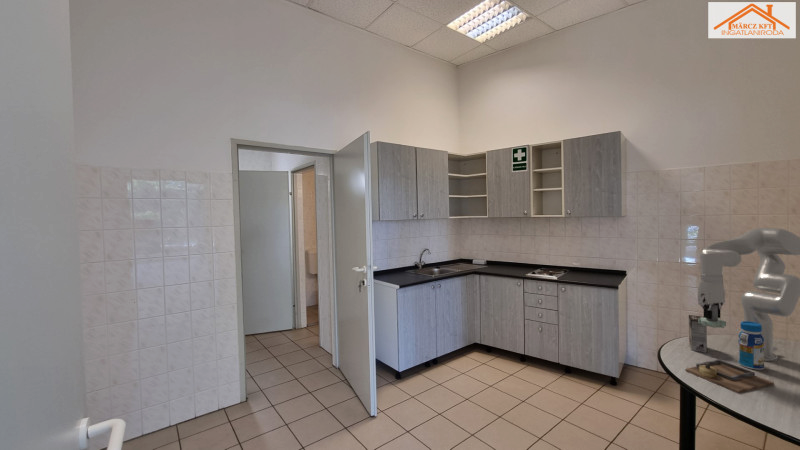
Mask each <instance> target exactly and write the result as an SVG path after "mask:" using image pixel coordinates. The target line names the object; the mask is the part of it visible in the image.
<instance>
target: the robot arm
mask: <svg viewBox="0 0 800 450" xmlns="http://www.w3.org/2000/svg"><path fill="white" fill-rule="evenodd" d="M755 252H757V254H758V257H759V260H760V261H759V265H758V268H757V271H756V273H755V276H754V278H753V282H752V286H753V287H754V288H755V289H757V290H759V291H757V290H755V291H754V290H749V291H745V292H743V294H741V298H740V301H741V305H742V309H743V316H744V320H743V321H749V322H755V323H759V324H761V326H762V331H761V333H760V334H761V335H762V336H763V338H764V342H763V343H764V345H765V348H764V362H776V361H778V359H779V358H778V356H777V355H776V354H775V353H774V352H776V351H778V350H779V349H778V347H777V346H774V335H773V334H774V331H773V330H774V325H773V324H774V323H773V320H772V318H771V316H770V315H774V316H776V317H785V318H787V317H789V316H790V317H791V315H793V313H794V311H795V309H796V308H797V307H796V306H797V304H798V302H799V299H800V277H798V276H796V275H792V274H785V273H784V272H785V271H786V270H785V269H786V264H785V262H784V260H783V259H782V258H781V257H780V256H779V255H784V256H800V236H799V235H796V234H795V233H793V232H792V231H791V232H790V231H789V230H786V229H783V228H771V227H754V228H752V229H750V230H748V231H746V232H745V233H743V234H742V235H740V236H738V237H736V238H732V239H727V240H721V241H719V242H714V243H711V244H709V245H707V246H706V247H704V248H703V249H702V250H701V251H700V253H699V259H700V281H699V282H698V289H697V301H698V305H699V306H701V308H702V310H703V317H704V318H708V319H712V311H711V305H712V304H714V305H717V306H718V319H721V310H722V307H723V305H724V304H725V303H726V293H725V292H726V291H725V285H724V268H725V267H728V268H733V267H734V268H735V267H737V266H738V265H740V264H741V262H742V261H743V260H742V256H744V255H751V254H753V253H755ZM767 292H768V293H767ZM773 293H774V294H773ZM706 304H708V306H707V305H706Z"/></svg>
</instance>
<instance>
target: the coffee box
mask: <svg viewBox="0 0 800 450" xmlns="http://www.w3.org/2000/svg"><path fill="white" fill-rule="evenodd" d="M700 317H703V318H704V316H701V315H700V316H699V315H691V314H688V339H689V341H688V342H689V343H688V344H689V347H690V350H691V351H694V350H695V352H700V351H701V352H700V353H707V351H708V349H707V348H708V342H707V341H708V339H707V338H708V337H707V336H708V332H707V331H708V330H707V328H708V326H704V325H702V324H700V323H698V318H699V319H700Z"/></svg>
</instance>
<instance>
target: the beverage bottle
mask: <svg viewBox="0 0 800 450" xmlns="http://www.w3.org/2000/svg"><path fill="white" fill-rule="evenodd" d="M740 330H741V331H740V332H739V334H738V341H737V343H738V363H739V365H740V366H741V367H744V368H745V369H749V370H750V369H751V370H756V371H757V370H758V371H759V370H760V371H761V370H764V369H765V361H764V348H765V345H764V343H763V342H764V338H763V336H762V335H761V334H760V333H761V331H762V326H761V324H759V323H755V322H749V321H744V320H742V321H741V322H740Z"/></svg>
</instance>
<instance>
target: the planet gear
mask: <svg viewBox="0 0 800 450" xmlns="http://www.w3.org/2000/svg"><path fill="white" fill-rule="evenodd" d="M706 305H707V306H708V304H706ZM711 311H712V319H708V318H703V317H704V316H701V317H700V319H699V318H698V323H700V324H702V325H704V326H707V327H710V328H715V329H716V328H722V329H724V328H725V327H727V320H726V321H724V320H722V319H721V318H718V306H717V305H714V304H712V305H711Z"/></svg>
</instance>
